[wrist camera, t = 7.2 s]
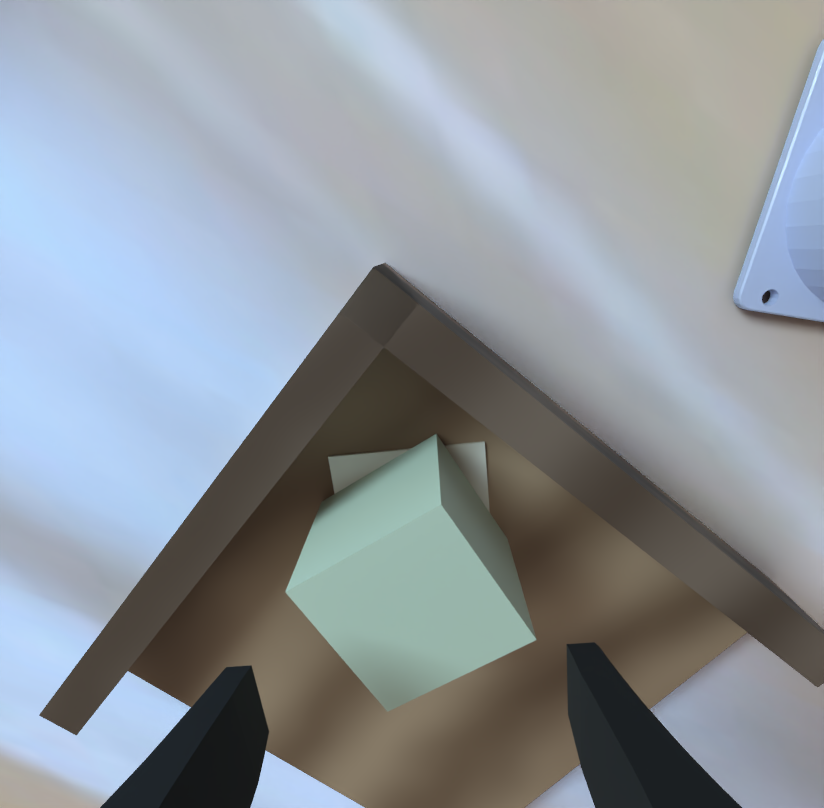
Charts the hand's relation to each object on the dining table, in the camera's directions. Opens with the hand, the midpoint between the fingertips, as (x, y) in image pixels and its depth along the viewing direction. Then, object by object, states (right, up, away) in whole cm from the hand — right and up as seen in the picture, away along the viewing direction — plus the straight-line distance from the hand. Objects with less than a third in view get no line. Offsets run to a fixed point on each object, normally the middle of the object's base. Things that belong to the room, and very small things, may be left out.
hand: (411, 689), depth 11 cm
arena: (+1, -2, +10) cm, 10 cm away
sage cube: (0, +2, +7) cm, 7 cm away
